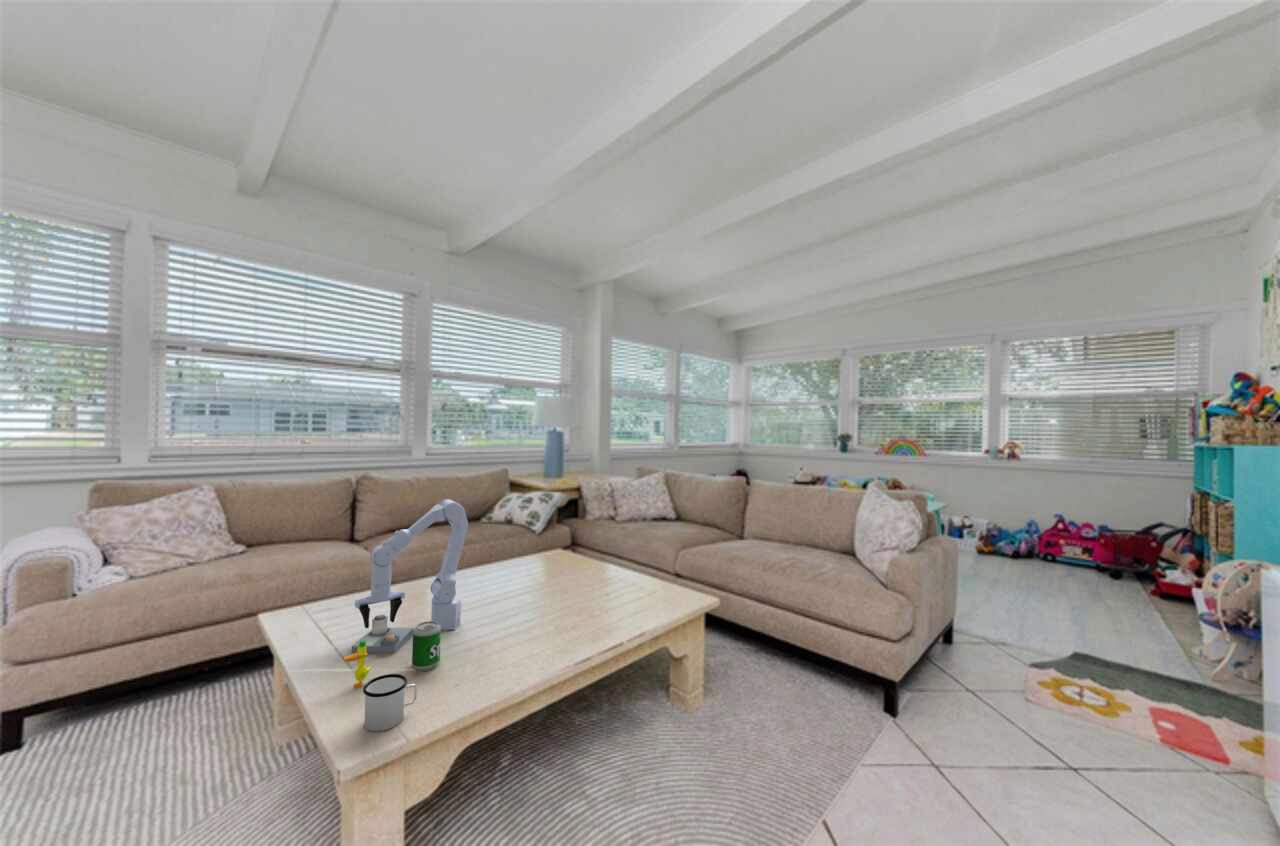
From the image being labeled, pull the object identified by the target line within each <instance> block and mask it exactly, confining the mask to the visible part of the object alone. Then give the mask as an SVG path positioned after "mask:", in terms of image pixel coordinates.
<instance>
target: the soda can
mask: <svg viewBox="0 0 1280 846" xmlns="http://www.w3.org/2000/svg"><path fill="white" fill-rule="evenodd" d="M441 631H442V629H441V627H440V625H438V623H437V622H432V621H431V620H430V621H424V622H420V623H418V624H417V625H416V626H415V627H413V634H412V648H411V649H412V655H411V657H412V658H411V666H412V667H413V668H414V669H415V671H418V672H427V671H430V670H432V669H434V668H436V667H437V665H438V664H439V663H440V661H441V639H442V638H441V635H442V634H441V633H442V632H441Z"/></svg>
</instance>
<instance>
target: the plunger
mask: <svg viewBox="0 0 1280 846" xmlns="http://www.w3.org/2000/svg"><path fill="white" fill-rule="evenodd" d="M394 639H395V635H388V636H386V637H385V641H393V640H394Z"/></svg>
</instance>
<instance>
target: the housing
mask: <svg viewBox="0 0 1280 846" xmlns="http://www.w3.org/2000/svg"><path fill="white" fill-rule="evenodd" d="M413 630H414V627H387V633H386V634H385V635H372V628H371V629H370V630H369V631H367V633H366V634H364V635H363V636H362V637H360V638H359V639H358V640H357V641H355V642H354V643H353V644H352V645H351V654H355V653H357V652H358V645H359V644H360V641H362V640H365V641H366V643H365V644H367V645H366V653H367V654H396V653H397V652H398V651H399V649H401V647H402V646H403V645H404V644H405V643H406V642H407V641H408V640H409V639H410V638H411V637H413ZM388 635H395V639H394V640H393V641H385V637H386V636H388Z"/></svg>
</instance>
